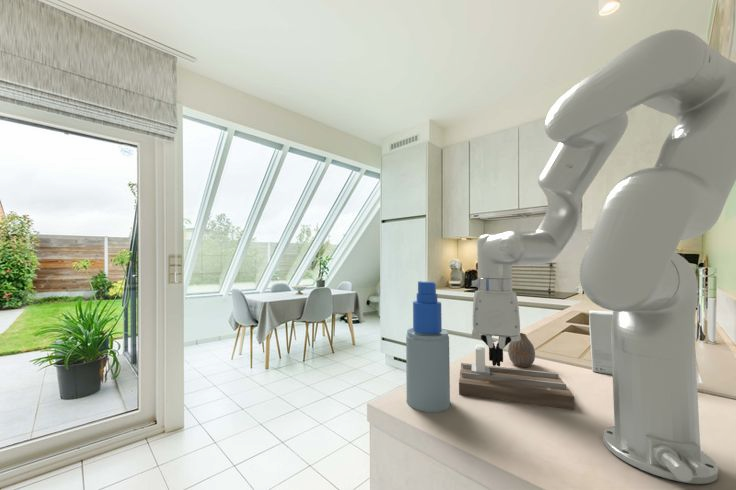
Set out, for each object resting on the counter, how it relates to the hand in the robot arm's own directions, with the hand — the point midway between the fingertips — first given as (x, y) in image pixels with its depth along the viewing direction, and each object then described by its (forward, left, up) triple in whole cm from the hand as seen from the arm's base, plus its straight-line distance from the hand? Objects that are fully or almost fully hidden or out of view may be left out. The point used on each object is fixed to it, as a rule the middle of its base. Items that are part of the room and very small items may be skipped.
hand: (496, 364), depth 73 cm
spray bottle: (-13, +14, -5) cm, 20 cm away
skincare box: (+22, -29, -5) cm, 37 cm away
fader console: (0, -3, -5) cm, 6 cm away
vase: (+19, -8, -5) cm, 21 cm away
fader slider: (0, +3, -3) cm, 4 cm away
